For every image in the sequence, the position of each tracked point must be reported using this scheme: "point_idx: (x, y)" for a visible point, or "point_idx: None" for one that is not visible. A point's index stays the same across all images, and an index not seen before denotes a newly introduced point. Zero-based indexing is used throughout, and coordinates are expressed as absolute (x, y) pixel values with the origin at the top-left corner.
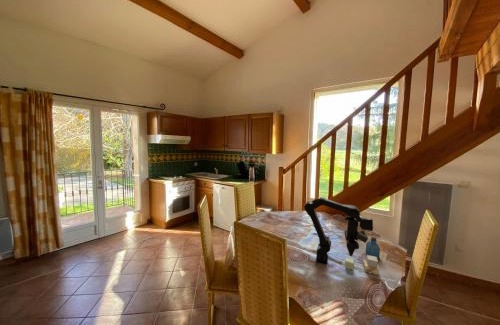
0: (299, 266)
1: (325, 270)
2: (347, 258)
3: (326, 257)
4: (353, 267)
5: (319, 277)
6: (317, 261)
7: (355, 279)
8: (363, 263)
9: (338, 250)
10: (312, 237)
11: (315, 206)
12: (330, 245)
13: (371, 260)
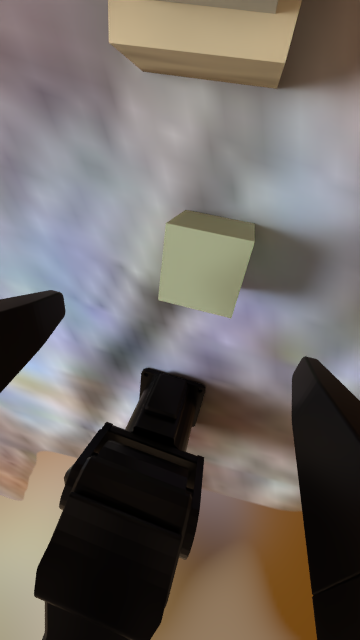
0: (245, 483)
1: (271, 407)
2: (166, 283)
3: (181, 413)
4: (253, 231)
5: None
6: (194, 422)
7: None
8: (137, 63)
9: (4, 264)
10: None
11: None
12: (169, 544)
13: None
